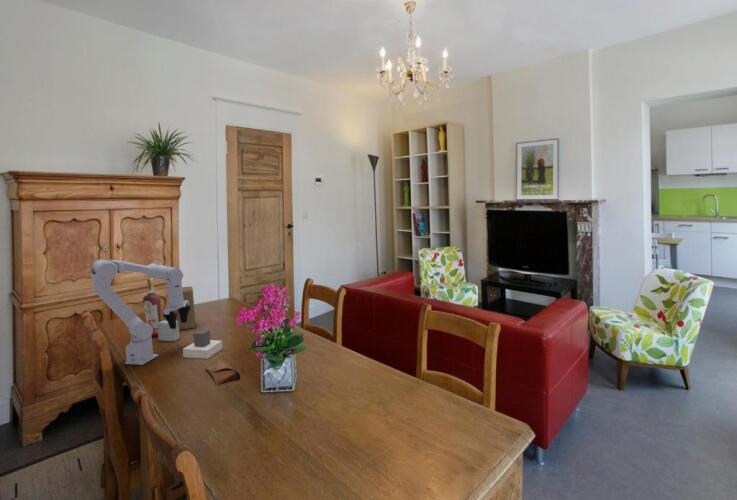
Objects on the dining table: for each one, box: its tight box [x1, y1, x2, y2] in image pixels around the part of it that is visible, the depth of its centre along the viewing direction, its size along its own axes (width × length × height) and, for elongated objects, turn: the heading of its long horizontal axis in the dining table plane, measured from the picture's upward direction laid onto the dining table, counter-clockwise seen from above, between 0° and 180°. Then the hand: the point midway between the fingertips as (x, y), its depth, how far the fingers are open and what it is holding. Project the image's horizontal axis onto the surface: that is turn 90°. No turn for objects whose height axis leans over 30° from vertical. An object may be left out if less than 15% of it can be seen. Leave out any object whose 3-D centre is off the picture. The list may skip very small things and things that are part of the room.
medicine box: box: [157, 320, 181, 342], centre depth 180 cm, size 8×4×9 cm, turn 84°
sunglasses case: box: [203, 356, 241, 386], centre depth 144 cm, size 18×7×7 cm, turn 38°
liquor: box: [142, 277, 162, 338], centre depth 186 cm, size 7×7×28 cm
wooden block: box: [173, 286, 196, 331], centre depth 198 cm, size 10×10×20 cm
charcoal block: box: [192, 329, 211, 347], centre depth 164 cm, size 4×4×6 cm
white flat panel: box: [182, 339, 223, 360], centre depth 164 cm, size 11×11×4 cm
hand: (178, 325), depth 168 cm, fingers open, 7 cm apart
